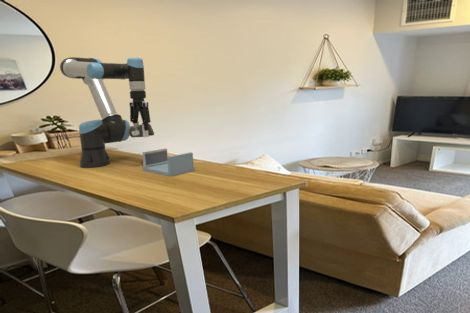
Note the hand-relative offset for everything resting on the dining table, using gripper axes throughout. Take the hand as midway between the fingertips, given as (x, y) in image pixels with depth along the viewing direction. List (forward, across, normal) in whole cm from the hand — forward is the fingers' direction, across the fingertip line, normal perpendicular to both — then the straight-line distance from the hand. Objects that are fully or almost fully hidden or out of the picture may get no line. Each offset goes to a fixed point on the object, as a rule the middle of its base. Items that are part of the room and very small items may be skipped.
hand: (141, 136), depth 172 cm
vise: (+15, +21, 0) cm, 26 cm away
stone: (0, 0, +1) cm, 1 cm away
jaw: (+13, +11, 0) cm, 17 cm away
